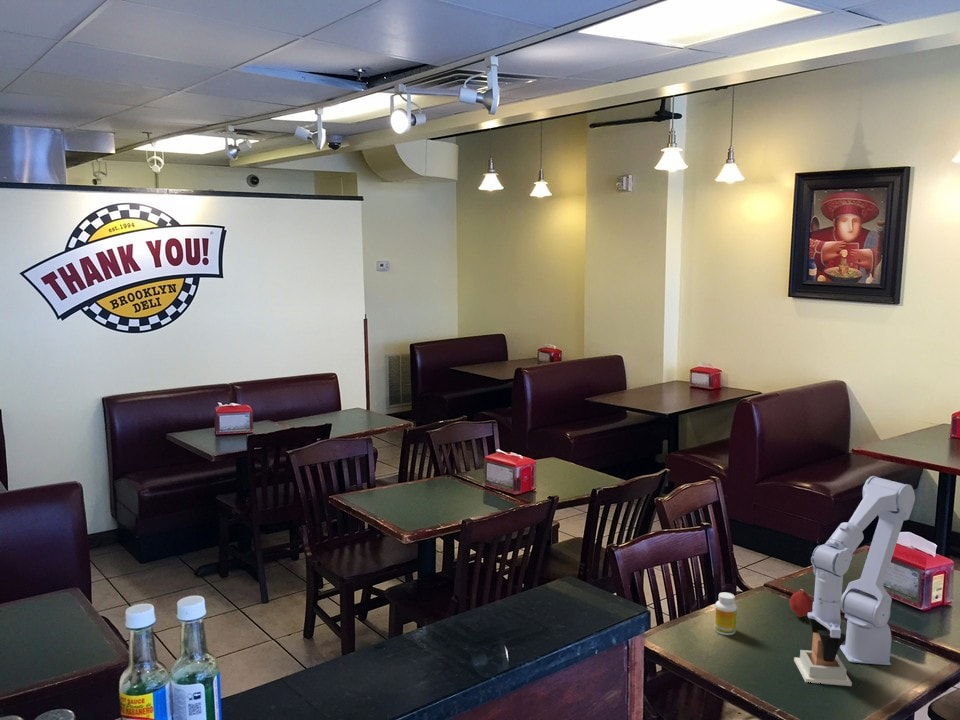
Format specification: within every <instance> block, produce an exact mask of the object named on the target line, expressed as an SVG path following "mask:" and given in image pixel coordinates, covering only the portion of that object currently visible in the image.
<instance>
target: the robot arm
mask: <svg viewBox="0 0 960 720" xmlns="http://www.w3.org/2000/svg"><path fill="white" fill-rule="evenodd" d="M915 500H916V494H915V491H914V488H913V486H912V485H911V484H909V483H908V484H907V483H905V484H904V483H902V482H897V481H892V480H890V479H886V478H881V477H878V476H877V475H876V476H875V475H872V476H869V477H868V478H867V479H866V481H865V483H864V485H863V487H862V500H861V501H860V503H858V506H857V507H856V509H855V510H854V512H853V514H852V516H850V518H849V520H848V522H847V521H846V522H841V523H840V524H839V525H838V526H837V528H836V529H835V531H834V532H833V533H832V534H831V536H830V537H829V538H828V539H827V540H826V542H825V543H824V544H821V545H820V544H819V545H817V546H816V547H815V548H814V550H813V552H812V554H811V555H812V556H811V558H810V562H811V565H812V568H813V570H812V571H813V573H812V574H813V575H814V576H815V577H814V578H815V579H814V581H815V582H814V595H813V601H812V603H813V608H812V610H811V612H808V613H807V615H806V616H807V618H808V621H809V625H810V630H811V633H812V635H811V636H812V637H813V633H819V636H820V639H821V643H822V653H823V659H824V661H827V662H834V660H835V657H836V655H837V656H838V652H839V649H840V650H841V652H842V653H843V655H844V656H845V658H846V659H847V660H848V662H850V663H858V664H867V665H868V664H871V665H880V666H881V665H883V666H891V665H892V664H891V661H890V660H891V650H892V649H891V647H892V631H891V629H890V625H889V623H888V621H889V619H890V617H891V605H892V600H893V599H892V597H891V595H890V594H889V592H887V590H886V588H885V587H884V584H885V581H886V578H887V575H888V571H889V568H890V565H891V562H892V558H893V555H894V553H895V549H896V545H897V541H898V540H899V536H900V532H901V530H902V527H903V523H904V521H909V519H910V516H911V515H912V514H911V513H912V511H913V507H914V504H915ZM876 517H878V522H877V525H876V528H875V531H874V534H873V536H872V539H871V540H872V541H871V543H870V546H869V550H868V552H867V557H866V559H865V562H864V566H863V570H862V572H861V575H860V578H858V579H855V580H852V581H850V582H848V584H847V586H846V589H845V591H844V592H843V582H844V581H843V578H844V575H845V574H846V573H847V572H848V571H849V568H850V565H851V561H852V559H853V553H854V552H855V551H856V549H857V548H858V547H859V545H860V544H861V543H862V542H863V540H864V537H865V536H864V533H863V531H864V530H865V529H866V528H867V527H868V526H869V525H870V524H871V523H872V521H874V519H876ZM863 592H864V593H863ZM865 593H867V594H865ZM868 594H869V595H868ZM871 595H872V596H871ZM841 612H842V613H844V618H845V619H847V621H846V633H845V634H846V635H845V634H844V633H842V629H841V628H840V627H841V621H842V620H841V619H842V618H841V617H842V616H841ZM844 642H845V644H844Z"/></svg>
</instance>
